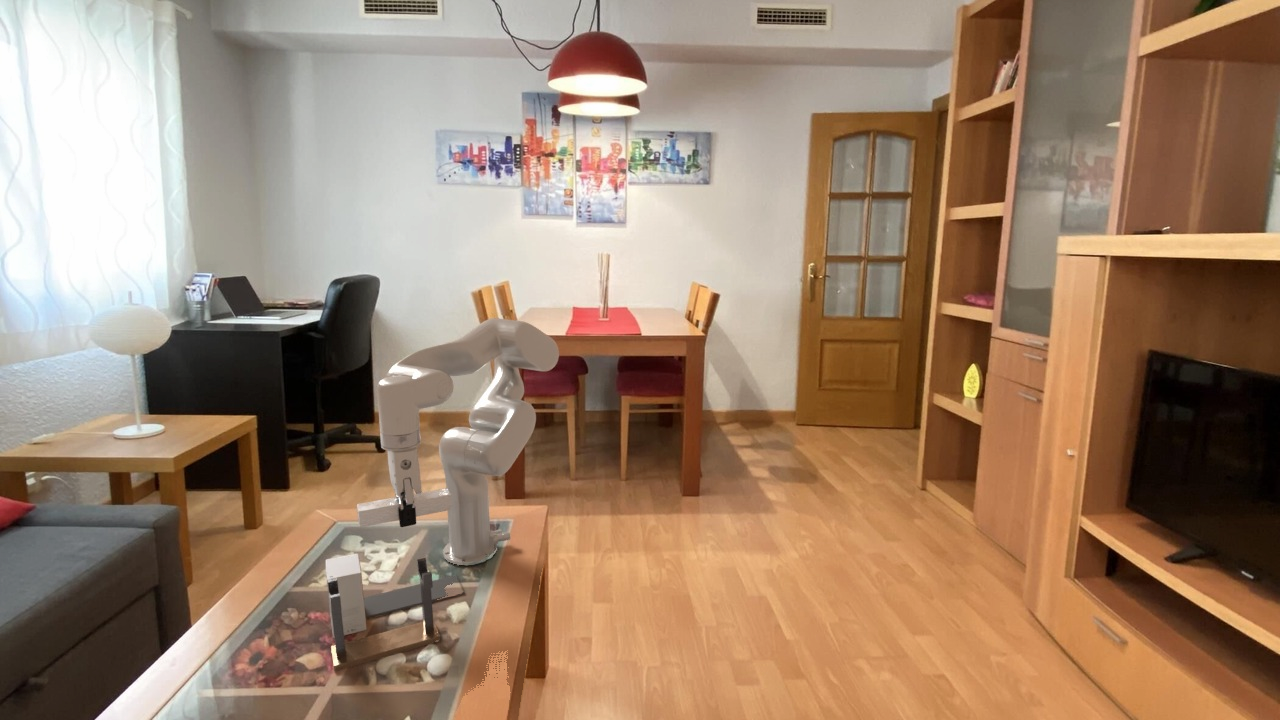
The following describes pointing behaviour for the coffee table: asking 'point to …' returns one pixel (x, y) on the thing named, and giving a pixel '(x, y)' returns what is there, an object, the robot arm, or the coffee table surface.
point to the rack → (385, 641)
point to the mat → (403, 598)
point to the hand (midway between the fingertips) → (406, 520)
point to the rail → (390, 507)
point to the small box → (348, 591)
